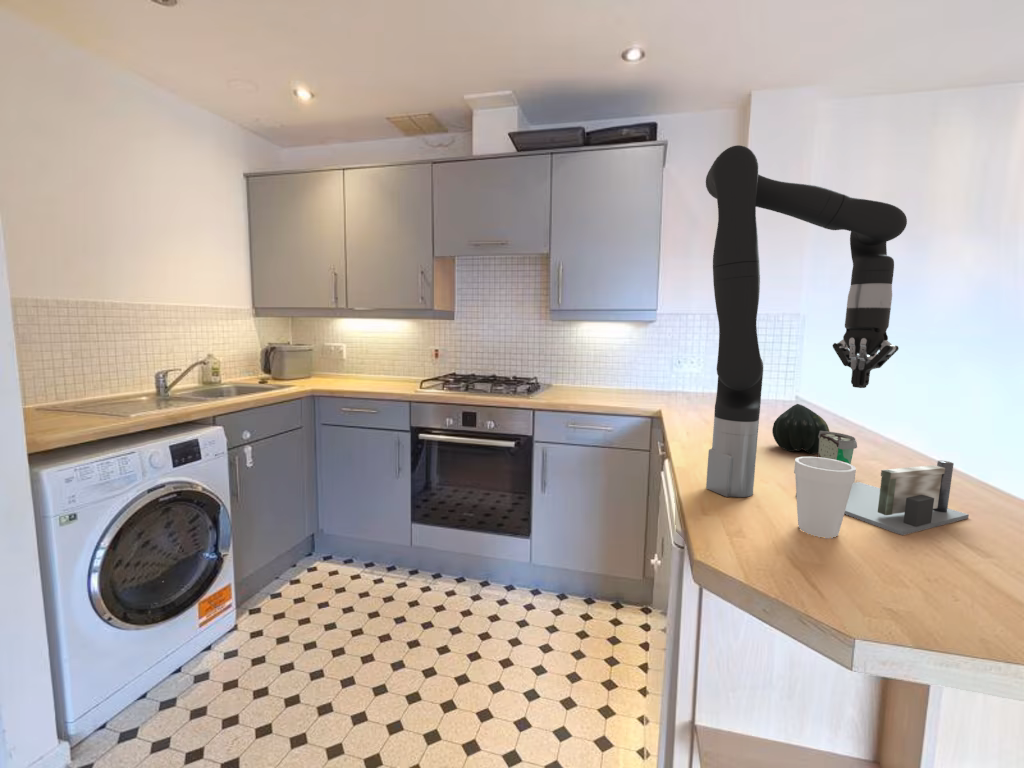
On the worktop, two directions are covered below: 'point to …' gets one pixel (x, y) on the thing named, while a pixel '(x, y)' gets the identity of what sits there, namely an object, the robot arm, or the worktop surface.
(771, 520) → the worktop surface
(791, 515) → the worktop surface
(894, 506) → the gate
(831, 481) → the foam cup
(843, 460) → the food container
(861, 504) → the plaque display stand
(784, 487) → the worktop surface
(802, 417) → the squash
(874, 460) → the worktop surface
